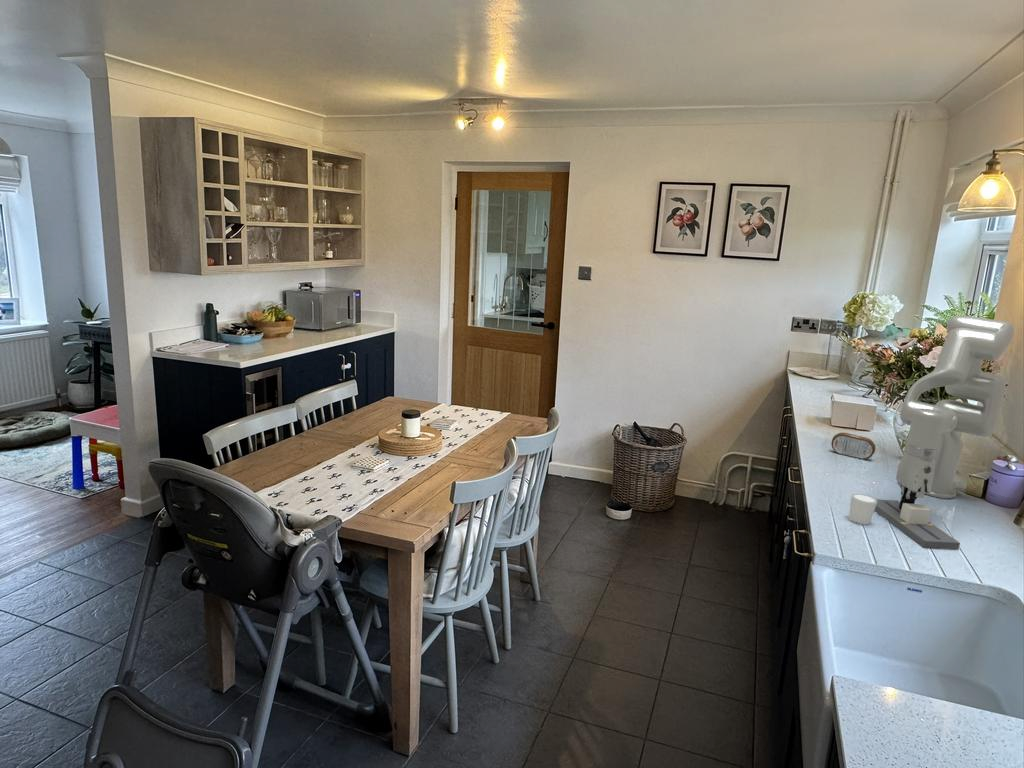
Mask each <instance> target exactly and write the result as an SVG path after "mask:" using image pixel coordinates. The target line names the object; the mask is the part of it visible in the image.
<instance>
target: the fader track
mask: <svg viewBox="0 0 1024 768" xmlns="http://www.w3.org/2000/svg"><path fill="white" fill-rule="evenodd" d="M875 499H876V500H877V504H876V507H875V510H874V512H875V513H876V512H877V513H878V515H879V516H880V515H881V516H882V519H884V518H885V519H884V520H885V521H887V520H888V521H889V522H888V521H887V522H888V523H889V524H891V525H892V524H893V525H892V526H893V527H895V528H897V529H898V530H899V531H900V532H901V533H903V534H904V535H905V536H907V537H908V538H910V540H913V541H914V542H915V543H917V544H918V545H920V546H921V547H922V548H923V549H936V550H937V549H938V550H939V549H941V550H956V549H958V550H959V549H960V545H961V542H960V541H958V540H956V539H955V538H954V537H953V536H951V535H949V534H947V533H946V532H945V531H943V530H942V529H940V528H939V527H938V526H936V525H935V524H933V523H931V522H930V521H929V522H928V525H926V524H908V523H907V522H905V521H904V520H902V519H901V518H900V513H901V509H899V505H900V501H899V500H897V499H895V500H894V499H893V500H892V499H877V498H875ZM877 513H876V514H877ZM881 516H880V517H881Z"/></svg>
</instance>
